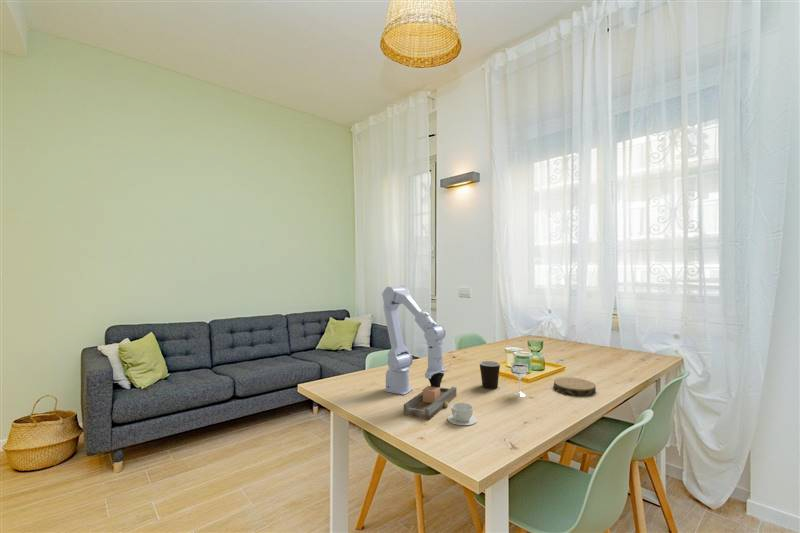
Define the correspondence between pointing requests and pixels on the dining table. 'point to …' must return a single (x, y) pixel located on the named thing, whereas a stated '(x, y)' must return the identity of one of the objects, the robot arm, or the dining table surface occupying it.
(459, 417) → the teacup
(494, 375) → the coffee mug
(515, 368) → the wineglass
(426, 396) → the salmon orange block
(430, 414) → the grey rectangular tray
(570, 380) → the wood slice
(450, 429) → the dining table surface
